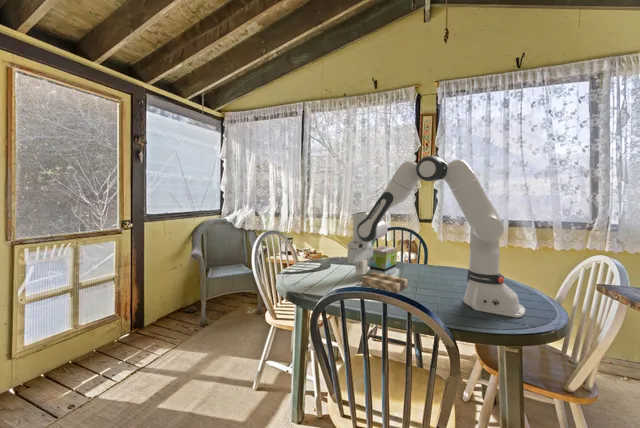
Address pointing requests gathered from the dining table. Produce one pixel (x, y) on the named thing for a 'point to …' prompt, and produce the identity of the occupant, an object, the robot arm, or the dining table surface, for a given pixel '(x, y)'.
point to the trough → (385, 282)
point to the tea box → (383, 260)
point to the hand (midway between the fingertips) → (361, 268)
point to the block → (362, 267)
